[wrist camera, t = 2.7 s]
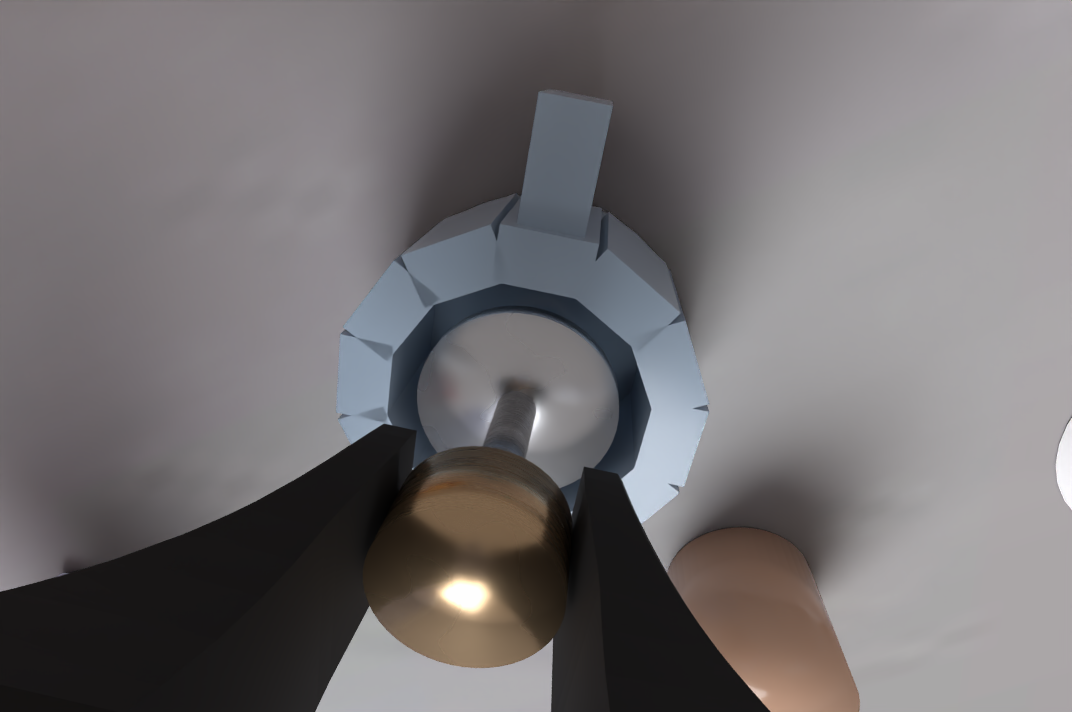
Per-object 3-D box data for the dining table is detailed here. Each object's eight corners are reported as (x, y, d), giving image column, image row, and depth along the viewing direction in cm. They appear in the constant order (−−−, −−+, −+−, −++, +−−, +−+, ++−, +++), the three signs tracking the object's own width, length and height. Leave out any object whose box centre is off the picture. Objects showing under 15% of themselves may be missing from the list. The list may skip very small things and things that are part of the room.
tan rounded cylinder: (784, 647, 22) (822, 778, 18) (651, 618, 22) (659, 742, 18) (833, 544, 20) (888, 665, 16) (686, 514, 20) (705, 626, 16)
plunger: (595, 498, 16) (585, 730, 10) (413, 459, 16) (305, 667, 10) (640, 329, 14) (660, 500, 8) (434, 286, 14) (314, 426, 8)
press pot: (637, 503, 20) (643, 604, 16) (383, 448, 20) (329, 536, 16) (752, 127, 15) (799, 143, 11) (419, 61, 15) (354, 55, 12)
